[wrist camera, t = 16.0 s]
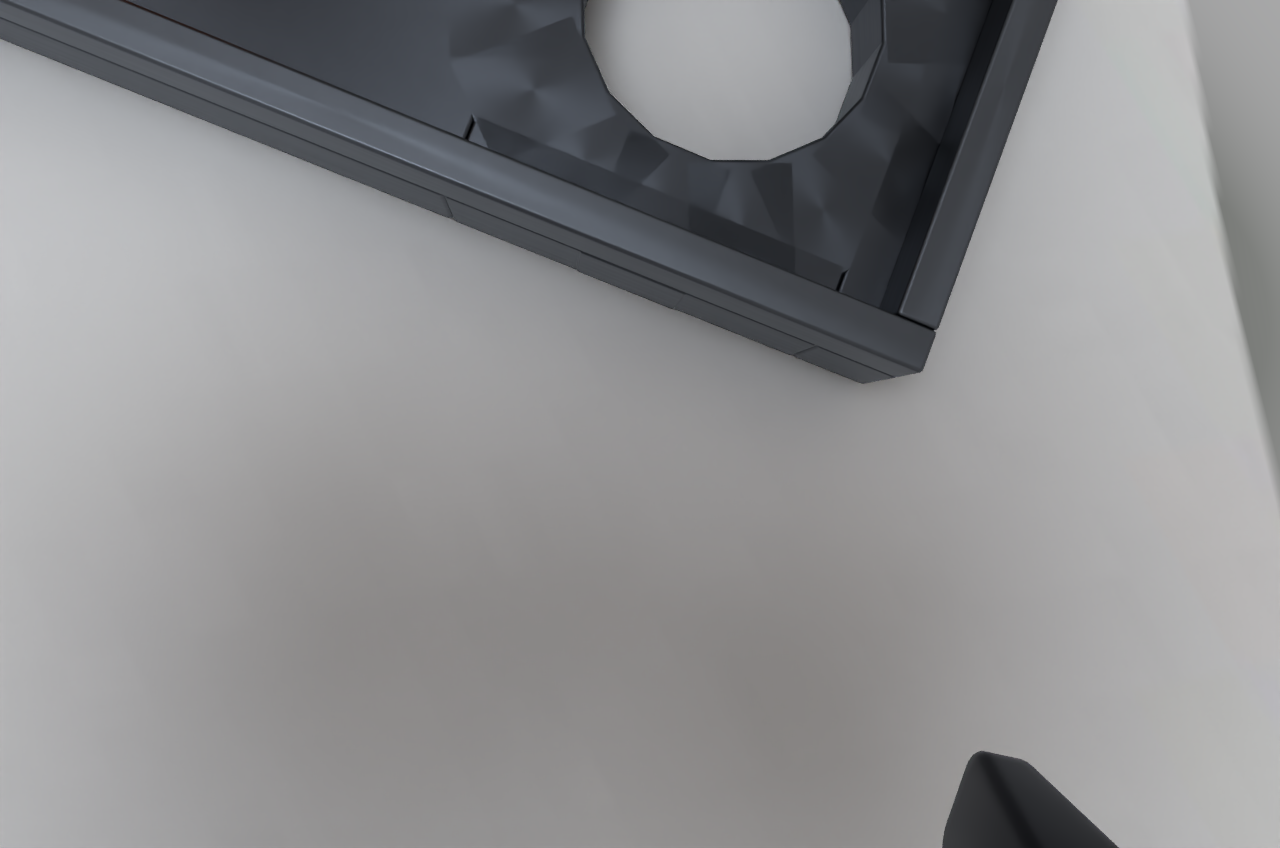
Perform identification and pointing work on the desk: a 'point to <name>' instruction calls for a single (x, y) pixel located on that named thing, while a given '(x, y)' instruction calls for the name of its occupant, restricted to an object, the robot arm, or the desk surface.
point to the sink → (611, 128)
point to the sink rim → (534, 199)
